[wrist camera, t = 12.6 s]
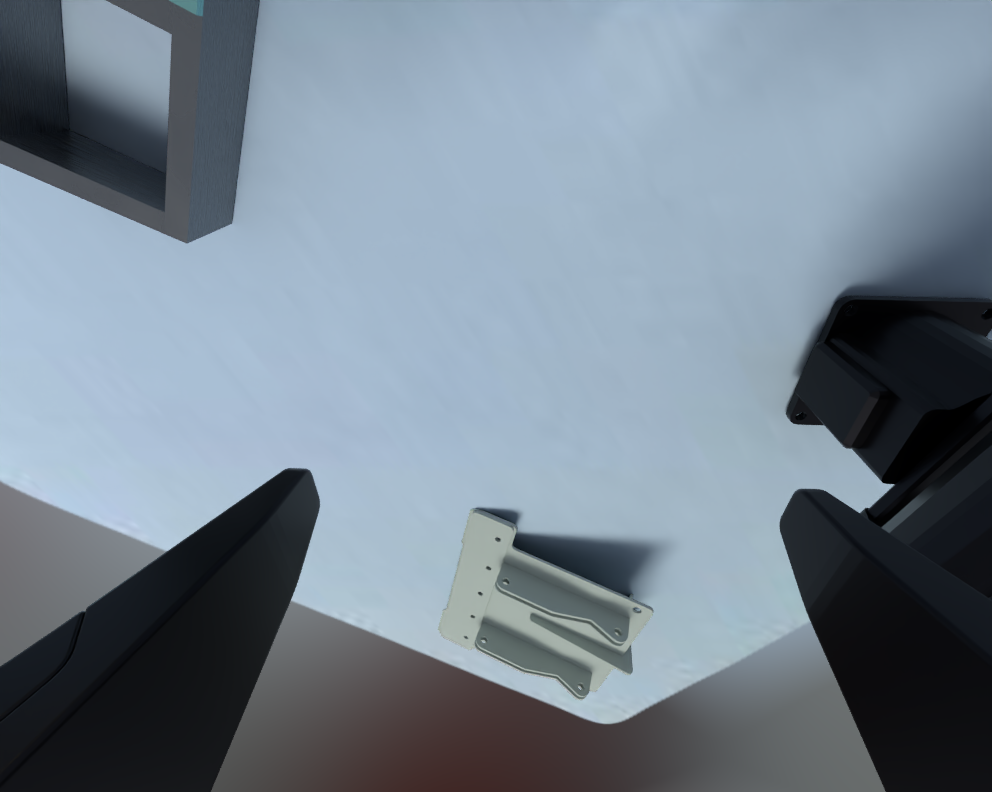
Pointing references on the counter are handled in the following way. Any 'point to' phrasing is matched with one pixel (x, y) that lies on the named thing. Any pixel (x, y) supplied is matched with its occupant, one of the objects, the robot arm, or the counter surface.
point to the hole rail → (191, 125)
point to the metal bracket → (537, 612)
